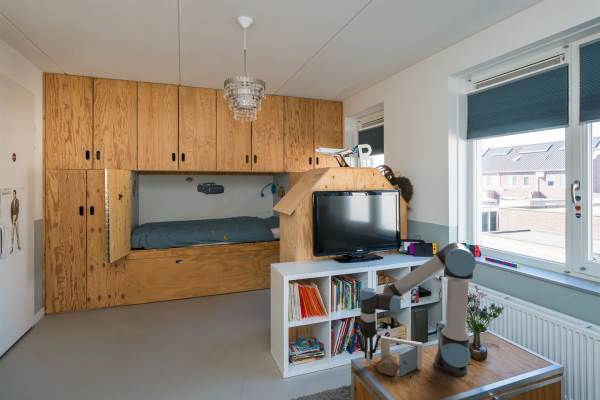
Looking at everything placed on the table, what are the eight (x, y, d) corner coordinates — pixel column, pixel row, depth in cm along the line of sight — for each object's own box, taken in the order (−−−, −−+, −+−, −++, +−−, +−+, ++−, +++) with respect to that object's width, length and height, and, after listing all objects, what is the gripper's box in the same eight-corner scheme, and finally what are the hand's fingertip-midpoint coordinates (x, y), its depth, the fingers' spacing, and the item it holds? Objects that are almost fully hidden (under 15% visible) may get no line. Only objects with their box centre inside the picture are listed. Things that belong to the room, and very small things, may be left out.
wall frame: (421, 368, 157) (421, 342, 156) (421, 370, 155) (421, 344, 154) (381, 360, 164) (381, 335, 163) (380, 362, 162) (380, 337, 162)
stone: (394, 385, 147) (404, 366, 147) (376, 373, 148) (387, 355, 149) (389, 372, 160) (399, 356, 160) (373, 362, 161) (383, 345, 161)
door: (416, 366, 157) (416, 344, 157) (420, 369, 155) (420, 347, 154) (399, 375, 150) (399, 352, 150) (403, 378, 148) (403, 355, 147)
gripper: (382, 318, 157) (382, 363, 159) (357, 314, 162) (357, 358, 164) (380, 324, 151) (380, 371, 152) (353, 320, 155) (354, 366, 157)
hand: (368, 364), depth 158 cm, fingers closed
